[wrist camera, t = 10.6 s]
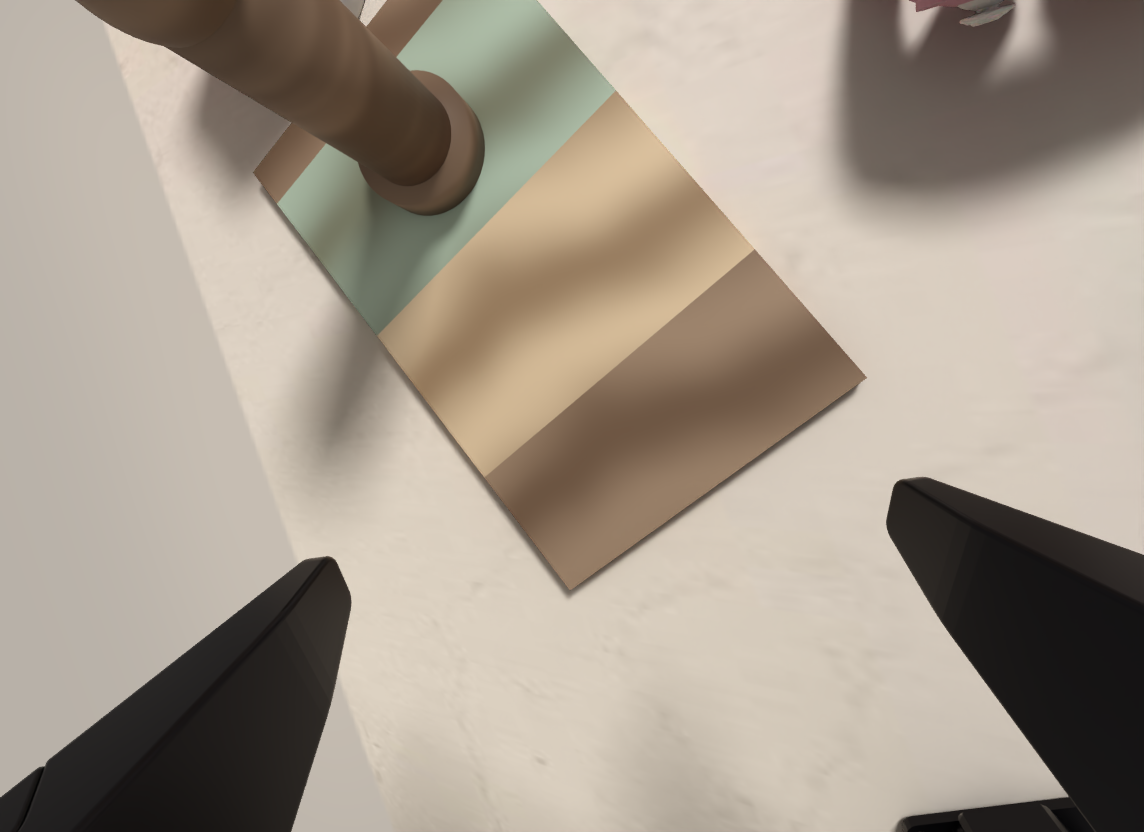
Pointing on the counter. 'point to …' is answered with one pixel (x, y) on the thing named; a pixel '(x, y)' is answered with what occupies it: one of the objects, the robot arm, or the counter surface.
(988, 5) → the video game controller
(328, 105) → the pawn
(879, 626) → the counter surface
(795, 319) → the game track
